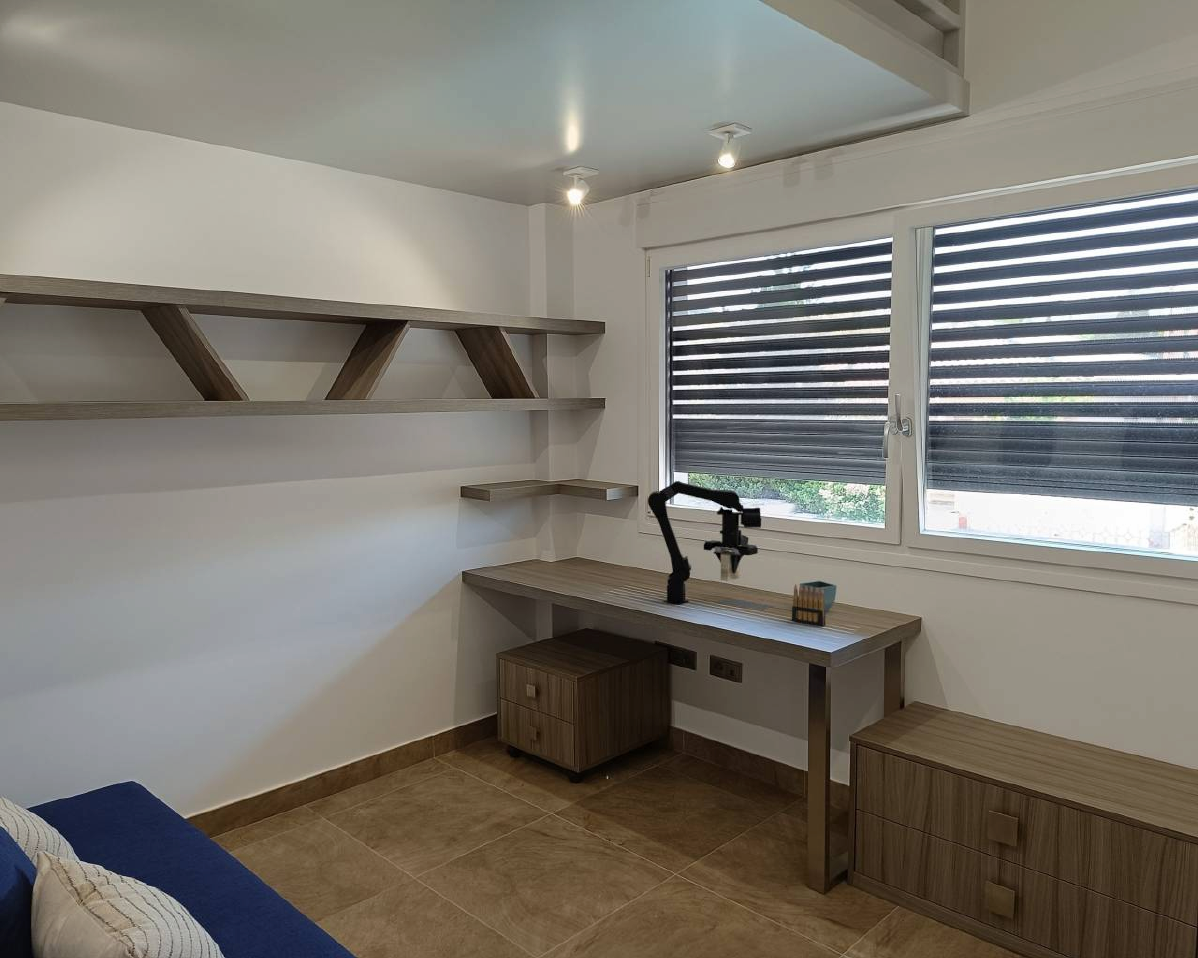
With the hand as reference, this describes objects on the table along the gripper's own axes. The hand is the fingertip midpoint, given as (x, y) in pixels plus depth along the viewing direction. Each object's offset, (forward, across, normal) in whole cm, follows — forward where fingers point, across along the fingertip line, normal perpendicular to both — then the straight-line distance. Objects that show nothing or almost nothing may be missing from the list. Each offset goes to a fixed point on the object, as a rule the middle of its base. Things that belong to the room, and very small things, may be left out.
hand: (730, 572), depth 315 cm
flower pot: (+11, -29, -8) cm, 32 cm away
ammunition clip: (+11, -35, +9) cm, 38 cm away
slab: (+2, 0, 0) cm, 2 cm away
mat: (+10, -6, 0) cm, 12 cm away
